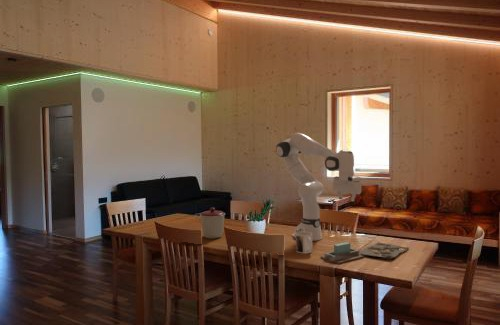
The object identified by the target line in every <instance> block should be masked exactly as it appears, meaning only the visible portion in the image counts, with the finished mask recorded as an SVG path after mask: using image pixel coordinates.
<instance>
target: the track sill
mask: <svg viewBox="0 0 500 325" xmlns="http://www.w3.org/2000/svg"><path fill="white" fill-rule="evenodd" d="M359 251H360V250H358V249H356V248H352V247H350V252H346V253H342V254H338V255H334V250H333V251H329V252H324V255H320V259H322V260H325V261H327V260H328V261H327V262H330V261H331V263H333V262H334V264H337V265H343V264H345V263H349V262H353V261H357V260H361V259H364V258H365V255H360V254H359Z"/></svg>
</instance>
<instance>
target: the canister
mask: <svg viewBox="0 0 500 325" xmlns="http://www.w3.org/2000/svg"><path fill="white" fill-rule="evenodd" d="M225 215H226V213H225V212H224V211H222V210H216V208H215V207H210V208H209V210H206V211H203V212H201V213H200V214H199V216H200V222H201V230H202V235H203V237H204V238H206V239H210V240H211V239H219V238H221V237H222V236H223V234H224V225H225V224H224V223H225Z"/></svg>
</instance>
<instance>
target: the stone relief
mask: <svg viewBox="0 0 500 325" xmlns="http://www.w3.org/2000/svg"><path fill="white" fill-rule="evenodd" d="M399 249H400V250H399ZM409 249H410V247H407V246H406V247H405V246H404V247H403V246H400V245H396V244H392V243H383V242H380V241H378V242H375V243H374V244H372V245H370V246H366V247H365V248H363V249H361V250H359V255H361V256H371V257H378V258H379V257H380V258H381V259H384V260H389V261H391V260H392V259H393V258H396V257H398V255H399V254H400V253H404V252H406V251H408V250H409Z"/></svg>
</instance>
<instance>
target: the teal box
mask: <svg viewBox="0 0 500 325" xmlns="http://www.w3.org/2000/svg"><path fill="white" fill-rule="evenodd" d="M350 248H351V242H347V241H345V242H341V243H336V244H333V251H334V255H338V254H342V253H346V252H350Z"/></svg>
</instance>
